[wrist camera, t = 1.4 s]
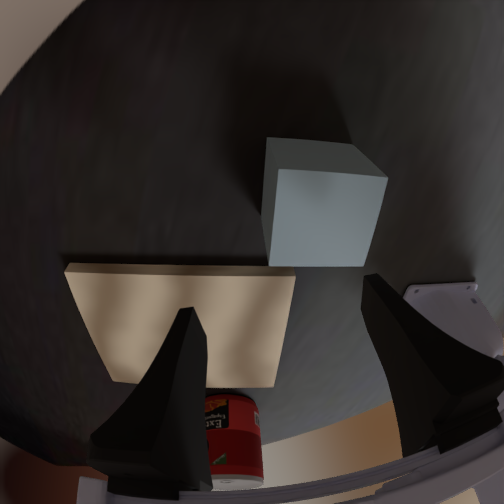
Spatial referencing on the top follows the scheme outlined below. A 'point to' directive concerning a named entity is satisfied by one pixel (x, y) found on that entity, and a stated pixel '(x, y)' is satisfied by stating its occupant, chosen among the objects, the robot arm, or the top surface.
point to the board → (181, 296)
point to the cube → (319, 203)
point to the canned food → (233, 442)
